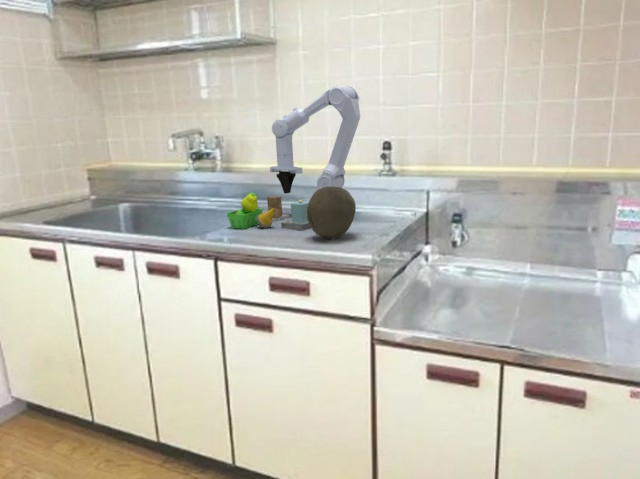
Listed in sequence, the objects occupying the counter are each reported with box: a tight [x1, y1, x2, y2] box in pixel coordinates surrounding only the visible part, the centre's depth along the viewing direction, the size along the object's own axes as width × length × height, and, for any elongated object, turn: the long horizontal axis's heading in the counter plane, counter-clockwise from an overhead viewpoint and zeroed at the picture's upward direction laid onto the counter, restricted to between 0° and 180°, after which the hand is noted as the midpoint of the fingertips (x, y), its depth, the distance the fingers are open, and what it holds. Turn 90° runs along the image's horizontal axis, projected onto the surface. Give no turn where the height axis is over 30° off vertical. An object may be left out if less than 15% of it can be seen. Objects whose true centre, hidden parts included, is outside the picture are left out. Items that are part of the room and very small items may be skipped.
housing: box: [290, 199, 309, 223], centre depth 174 cm, size 4×4×7 cm
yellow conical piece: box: [256, 208, 275, 229], centre depth 174 cm, size 5×5×10 cm
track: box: [272, 213, 290, 222], centre depth 188 cm, size 11×4×1 cm, turn 138°
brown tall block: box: [266, 195, 283, 217], centre depth 188 cm, size 3×4×7 cm
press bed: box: [280, 220, 312, 231], centre depth 175 cm, size 10×9×2 cm
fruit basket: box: [225, 192, 264, 230], centre depth 179 cm, size 11×9×11 cm
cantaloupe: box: [307, 187, 357, 240], centre depth 155 cm, size 14×14×15 cm
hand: (287, 193), depth 192 cm, fingers closed
